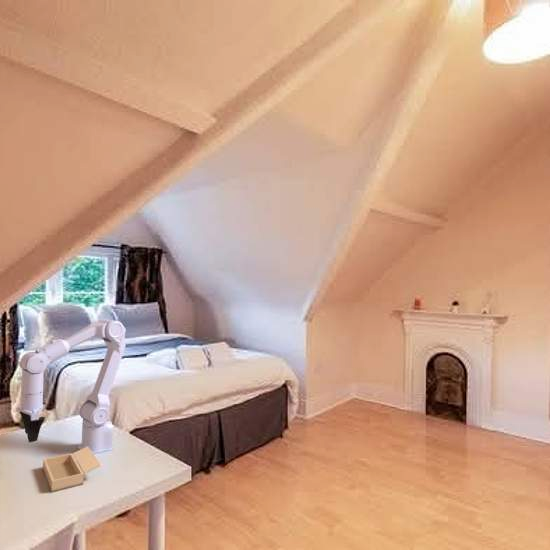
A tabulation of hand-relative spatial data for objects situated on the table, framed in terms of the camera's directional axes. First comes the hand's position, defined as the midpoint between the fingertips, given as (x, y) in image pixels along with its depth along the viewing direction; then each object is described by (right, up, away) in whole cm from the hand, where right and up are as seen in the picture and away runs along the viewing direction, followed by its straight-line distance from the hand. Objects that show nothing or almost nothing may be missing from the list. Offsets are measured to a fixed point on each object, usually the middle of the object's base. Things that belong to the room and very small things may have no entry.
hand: (31, 437), depth 127 cm
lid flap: (+17, -6, -1) cm, 18 cm away
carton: (+12, -10, -5) cm, 16 cm away
